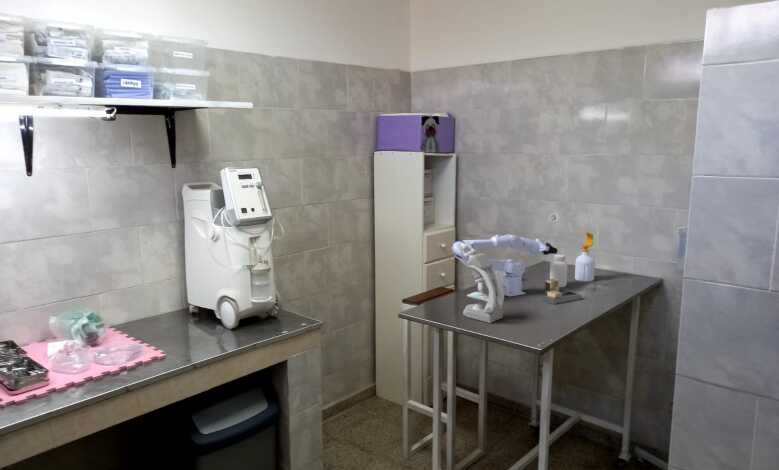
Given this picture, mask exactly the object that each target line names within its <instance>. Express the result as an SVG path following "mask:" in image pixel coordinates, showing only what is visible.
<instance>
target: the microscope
mask: <svg viewBox="0 0 779 470" xmlns="http://www.w3.org/2000/svg"><path fill="white" fill-rule="evenodd" d="M465 244H466V245H467V247H468V248H469V249H471V251H469V252H467V253H465V251H464V249H463V247H462V246H461V244H460V243H458V244H457V245H456V246H457V247H458V249H459V250H460V251H461V252H462V253H463V254H464V257H465V258H466V257H468V256H469V260H468V262H467V265H468V266H469V267H470V270H471V273H472V275H473V279H474V281H475V282H476V283H477V291H474V292H471V293H469V294H466V297H467V298H468V297H469V298H471V299H474V300H479V301H484V303H485V304H484V303H483V302H475V303H471V304H467V305H466V306H464V307H465V308H464V309H463V310H462V311H463V312H462V314H463V316H464V317H466V318H468V319H473V320H477V321H481V322H485V323H487V324H491V323H493V322H496V321H497V320H501V319H502V318H504V311H503V309H502V307H503V305H504V300H505V295H504V288H503V284H502V281H501V279H500V277H499V275H498V273H497V272H496V270H495V269H494V268H493V267H492V266H493V265H492V263H491V261H490V260H489V259H490V258H488V256H487V254H485V253H478V251H477V250H476V251H475V249H473V247H472V245H471V244H470V242H469V241H467V242H465ZM471 254H474V255H471ZM469 267H468V268H469ZM486 269H487V270H486ZM488 272H489V274H491V276H492V278H493V280H492V278H491V277H490V276H489V274H488ZM493 281H494V283H495V285H496V289H495V285H494V283H493ZM484 285H485V287H486V288H487V289H488V293H487V294H486V293H483V292H484ZM496 293H497V294H496Z"/></svg>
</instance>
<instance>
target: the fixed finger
mask: <svg viewBox="0 0 779 470" xmlns="http://www.w3.org/2000/svg"><path fill="white" fill-rule="evenodd" d="M546 295H547V296H548V297H551V298H554V299H556V298H561V297H562V293H561V292H560V291H559V292H557V291H549V292H547V293H546Z"/></svg>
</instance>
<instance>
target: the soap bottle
mask: <svg viewBox="0 0 779 470" xmlns="http://www.w3.org/2000/svg"><path fill="white" fill-rule="evenodd" d="M581 233H583V234H585V235H586V243H583V244H580V245H579V246H580V247H582V248H583V249H582V250H581V255H578V257H576V259H575V265H574V266H575V267H574V269H575V270H574V279H575V280H576V281H579V282H584V283H585V282H593V281H594V280H595V265H596V260H595V259H594V257H592V256H590V250H588V249H589V247H593V245H594V234H593V233H590V232H586V231H581Z"/></svg>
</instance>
